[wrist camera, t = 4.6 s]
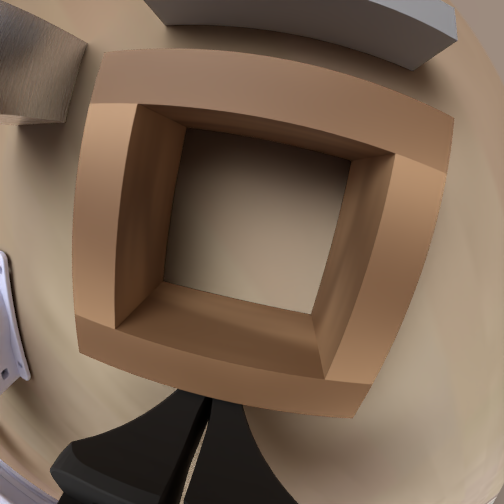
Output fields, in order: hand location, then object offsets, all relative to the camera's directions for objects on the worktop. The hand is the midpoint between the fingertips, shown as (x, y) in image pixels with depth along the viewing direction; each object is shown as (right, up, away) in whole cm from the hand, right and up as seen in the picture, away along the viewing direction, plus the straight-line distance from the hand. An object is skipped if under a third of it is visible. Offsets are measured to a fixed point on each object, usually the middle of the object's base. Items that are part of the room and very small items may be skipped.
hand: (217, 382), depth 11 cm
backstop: (+3, +14, -2) cm, 14 cm away
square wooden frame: (+1, +6, 0) cm, 6 cm away
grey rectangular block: (-8, +13, -1) cm, 16 cm away
